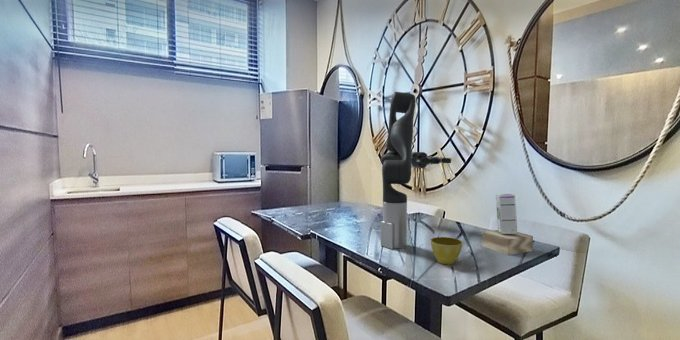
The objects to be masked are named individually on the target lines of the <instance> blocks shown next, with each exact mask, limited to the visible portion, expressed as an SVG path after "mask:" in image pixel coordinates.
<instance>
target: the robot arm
mask: <svg viewBox="0 0 680 340" xmlns="http://www.w3.org/2000/svg"><path fill="white" fill-rule="evenodd" d="M416 99H417V98H416V96H415V95H414V94H412V93H410V92H409V93H408V92H401V91H394V92H393V94H392V95H391V100H390V105H389V106H390V107H389V116H388V117H389V118H388V133H387V139H386V143H385V144H386V146H385V147H386V149H387V151H389V152H387V153H385V154H383V155H382V156H381V157H380V164H381V165H382V168H381V174H382V175H381V177H382V221H380V247H384V248H387V249H391V250H393V249H404V248H406V247H407V245H408V244H407V241H408V239H407V237H408V235H407V233H408V232H407V229H408V228H407V225H408V224H407V222H408V213H407V212H408V196H407V194H406V193H404V192H401V191H400V190H397V189H396V188H394V187H393V186H392V185H407V184H409V183H410V181H411V177H412V169H424V168H425V169H426V167H427V166H429V165H430V166H431V165H439V164H452V158H450V157H439V156H433V155H432V156H431V155H430V156H429V155H428V154H427V153H426V152H424V151H423V152H422V151H412V145H413V137H414V136H413V135H414V115H415V110H416V109H415V108H416V101H417V100H416ZM397 113H399V114H404V115H402V116H401V117H400V118H398V119H397Z"/></svg>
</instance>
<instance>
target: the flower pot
mask: <svg viewBox="0 0 680 340" xmlns="http://www.w3.org/2000/svg"><path fill="white" fill-rule="evenodd" d="M430 246H431V249H432V253H433V254H434V258H435V259H436V261H437V262H438V263H440V264H442V265H454V264H455V262H456V261H457V260H458V258H459V256H460V254H461V251H462V247H463V241H462V240H461V239H458V238H454V237H447V236H438V237H432V238H430Z"/></svg>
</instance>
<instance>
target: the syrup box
mask: <svg viewBox="0 0 680 340" xmlns="http://www.w3.org/2000/svg"><path fill="white" fill-rule="evenodd" d="M495 203H496V205H495V206H496V218H497V220H496V223H497V230H498V232H500V233H501V234H517V232H518V220H517V206H516V205H517V204H516V195H515V194H512V193H500V194H499V193H498V194H495Z"/></svg>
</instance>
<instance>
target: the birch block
mask: <svg viewBox="0 0 680 340" xmlns="http://www.w3.org/2000/svg"><path fill="white" fill-rule="evenodd" d="M533 241H534V236H533V235H531V234H526V233H523V232H520V231H517V234H501V233H500V232H498V229H495V230H485V231H482V244H481V245H482V247H484V248H487V249H490V250H493V251H495V252H498V253H501V254H504V255H507V256H510V255H516V253H518V254H522V252H524V253H529V252H528V251H531V252H533V248H534V247H533V244H534V243H533Z"/></svg>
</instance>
